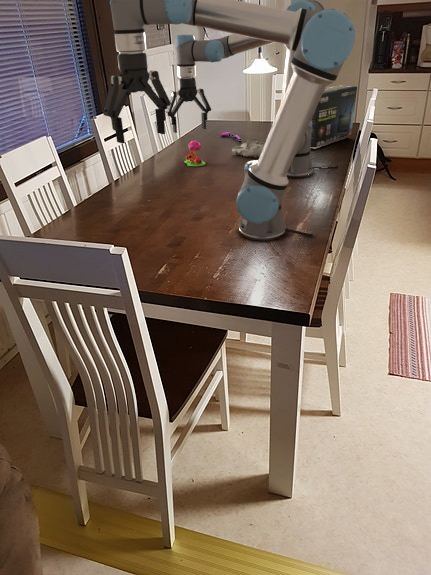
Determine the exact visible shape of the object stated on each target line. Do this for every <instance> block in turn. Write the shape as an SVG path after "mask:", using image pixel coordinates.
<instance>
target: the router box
mask: <svg viewBox="0 0 431 575" xmlns="http://www.w3.org/2000/svg"><path fill="white" fill-rule="evenodd" d="M357 93H358V86H356V85H350V84H339V85H338V84H337V85H334V86H328V87H325V90H324V92H323V94H322V96H321V99H320V101H319V103H318V105H317V107H316V110H315V112H314V114H313V116H312V118H311V121H312V133H311V147H317V146H320V145H323V144H325V143H328V142H331V141H333V140H336V139H338V138H341V137H344V136H347V135H351V136H352V133H353V132H352V131H353V125H354V115H355V109H356V99H357ZM310 151H313V150H312V149H311V150H310Z"/></svg>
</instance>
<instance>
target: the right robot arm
mask: <svg viewBox="0 0 431 575" xmlns="http://www.w3.org/2000/svg"><path fill="white" fill-rule="evenodd" d="M300 8H302V9H308V10H324V9H325V7H324V6H323V4H322V3H321V2H319V1H317V0H296V1H295V2H292V3H291V4H289V5H288V6H287V7H286V9H285V10H288V11H293V12H296V11H298V10H299V9H300ZM274 43H276V42H271V41H266V40H261V39H257V38H252V37H247V36H242V35H237V34H232V33H231V34H229V35H226V36H223V37H220V38H215V39H213V38H212V39H202V40H201V39H200V40H197V39H195V35H194V34H177V35H176V37H175V54H176V67H177V68H176V69H177V77H178V79H177V86H178V89H177V90H178V91H174V90H171V94H170V96H171V97H170V98H169V100H170V102H171V105H170V106H167V107H168V108H167V109H165V114H166V116H168V117H169V120H170V121H169V122H170V125H172V131H173V133H175V134H177V133H178V126H177V123H178V122H177V116H175V115H177V113H178V111H179V109H180V108H181V106H182V104H184V103H187V102H194V103H195V104H196V105H197V107H198V108H199V109H200V110H201V111H202V112H201V113H200V114H201V128H202V129H203V130H206V129H207V121H208V113H209V112H211V111H212V107H211V105H210V103H209V102H208V98H207V96H206V95H205V90H204V88H201V87H199V88H198V89H197V78H196V76H197V70H196V68H197V67H196V63H197V62H203V63H220V62H221V61H222V59H223V60H224V59H228V58H230V57H232V56H235V55H238V54H242V53H245V52H248V51H252V50H255V49H258V48H261V47H265V46H269V45H271V44H274ZM283 45H284V47H285V48H286V55H285V61H284V62H285V63H284V72H283V78H282V80H283V81H282V88H281V98H280V104H281V103H282V100H283V98H284V95H285V93H286V91H287V88H288V86H289V83H290V81H291V78H292V76H293V68H292V65H291V62H292V59H293V57H294V54H295V52H296V51H293V50H291V49H290V47H289V45H286V44H283ZM197 95H199V97H200V99H201V101H202V102H201V101H200V100H199V98H198V97H197ZM177 97H179V98H178V99H177ZM176 99H177V102H176ZM175 102H176V103H175ZM311 133H312V121H310V123H309V125H308V127H307V130H306V132H305V134H304V136H303V138H302V141H301V143H300V145H299V147H298V150H297V152H296V154H295V156H294V158H293V161H292V163H291V165H290V167H289V169H288V172H287V174H286V175H287V178H288V179H303V178H308V177H311V176H312V175H313V174H314V170H315V169H314V168H319V169H318V170H333V169H338V168H339V165H335V166H336V167H332V166H327V167H328V168H321V167H322V166H313V162H312V159H311V150H310V147H311ZM308 174H309V175H308Z"/></svg>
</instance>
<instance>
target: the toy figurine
mask: <svg viewBox="0 0 431 575" xmlns="http://www.w3.org/2000/svg"><path fill="white" fill-rule="evenodd" d="M187 146H188V147H187V148H188V149H187V151H186V154H187V155H186V156H185V160H184V161H183V163H184V164H186V165H187V167H193V168H199V167H203V166H205V165H206V161H204V160H202V158H198V155H197V151H200V150H201V148H202V146H201V143H200V142H198V141H197V140H190V143H188V145H187Z"/></svg>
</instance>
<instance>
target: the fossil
mask: <svg viewBox="0 0 431 575" xmlns="http://www.w3.org/2000/svg"><path fill="white" fill-rule="evenodd" d="M265 142H266V141H265ZM265 142H264V141H258V139H253V138H248V139H247V141H246V142H243V143H242V144H240V145H236V146H234V147H233V148H231V151H232V154H233V153H234V154H233V155H234V156H242V155H243V157H248V156H249V157H252V156H258V157H253V159H257V158H258V159H259V157H260V154H261V152H262V150H263V147H264V145H265ZM249 157H248V158H249Z"/></svg>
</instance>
